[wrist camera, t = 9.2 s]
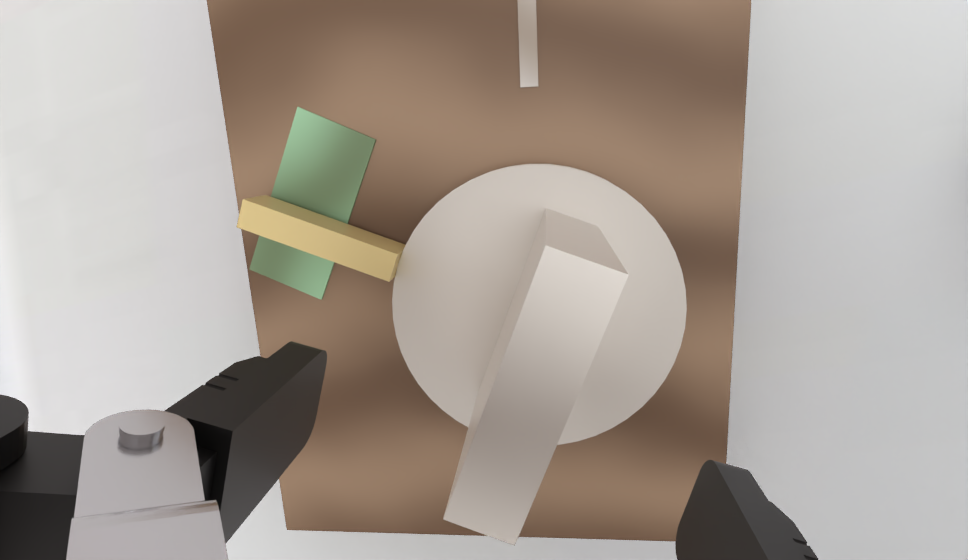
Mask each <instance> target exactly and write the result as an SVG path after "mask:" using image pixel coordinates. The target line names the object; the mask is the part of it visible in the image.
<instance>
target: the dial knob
mask: <svg viewBox="0 0 968 560" xmlns="http://www.w3.org/2000/svg"><path fill="white" fill-rule="evenodd" d="M237 228H240V229H243V230H246V231H249V232H251V233H254V234H257V235H260V236H263V237H265V238H268V239H271V240H274V241H277V242H279V243H282V244H285V245H288V246H290V247H293V248H296V249H299V250H302V251H304V252H307V253H310V254H313V255H316V256H318V257H321V258H324V259H327V260H330V261H332V262H335V263H338V264H341V265H343V266H346V267H349V268H352V269H355V270H357V271H360V272H363V273H366V274H369V275H371V276H374V277H377V278H380V279H383V280H385V281H388V282H390V281H391V280H392V279H393V278H394V277H395V279H394V286H393V296H392V309H393V322H394V327H395V333H396V337H397V341H398V344H399V347H400V350H401V353H402V355H403V357H404V360H405V362H406V364H407V366H408V368H409V370H410V372H411V373H412V375H413V376H414V378H415V380H416V381H417V383H418V384H419V386H420V387H421V388H422V389H423V390H424V392H425V393H426V394H427V395H428V397H429V398H430V399H431V400H432V401H433V402H434V403H435V404H437V405H438V406H439V407H440V408H441V409H442V410H443V411H444V412H446V413H447V414H448V415H450V416H451V417H452V418H454V419H455V420H456V421H458V422H460V423H461V424H463V425H465V426H467V427H468V431H467V434H466V438H465V442H464V445H463V449H462V452H461V456H460V460H459V463H458V467H457V471H456V474H455V478H454V481H453V485H452V489H451V492H450V496H449V500H448V503H447V507H446V510H445V514H444V518H443V520H446V521H449V522H452V523H454V524H457V525H460V526H462V527H465V528H468V529H471V530H473V531H476V532H479V533H481V534H484V535H487V536H490V537H492V538H495V539H498V540H500V541H503V542H506V543H509V544H511V545H514V546H515V544H516V541H517V539H518V537H519V534H520V532H521V529H522V527H523V525H524V522H525V520H526V518H527V515H528V513H529V510H530V508H531V506H532V503H533V501H534V499H535V496H536V494H537V491H538V489H539V487H540V484H541V482H542V480H543V477H544V475H545V472H546V470H547V468H548V465H549V463H550V461H551V458H552V456H553V453H554V451H555V449H556V446H557V445H561V444H566V443H572V442H577V441H581V440H584V439H587V438H590V437H593V436H596V435H598V434H601V433H603V432H605V431H607V430H609V429H612V428H613V427H615V426H617V425H618V424H620V423H621V422H623V421H625V420H626V419H628V418H629V417H630V416H632V415H633V414H634V413H635V412H637V411H638V410H639V409H640V408H642V407H643V405H644V404H645V403H646V402H647V401H648V400H649V399H650V398H651V397H652V396H653V395H654V394H655V393H656V391H657V390H658V389H659V387H660V386H661V385H662V383H663V382H664V381H665V379H666V377H667V375H668V374H669V372H670V370H671V368H672V366H673V365H674V362H675V360H676V357H677V355H678V352H679V349H680V347H681V343H682V339H683V334H684V330H685V323H686V312H687V304H686V289H685V283H684V278H683V273H682V269H681V267H680V264H679V261H678V258H677V255H676V252H675V250H674V248H673V247H672V245H671V243H670V241H669V239H668V237H667V235H666V234H665V232H664V231H663V229H662V228H661V227H660V225H659V224H658V222H657V221H656V219H655V218H654V217H653V216H652V215H651V214H650V213H649V212H648V211H647V210H646V209H645V208H644V207H643V206H642V204H640V203H639V202H638V201H637V200H635V199H634V198H633V197H632V196H630V195H629V194H628V193H627V192H625V191H624V190H622V189H620V188H619V187H617V186H615V185H614V184H612V183H610V182H609V181H607V180H605V179H603V178H601V177H599V176H596V175H594V174H592V173H589V172H587V171H583V170H580V169H576V168H573V167H569V166H563V165H556V164H532V163H529V164H521V165H514V166H508V167H504V168H501V169H497V170H493V171H490V172H488V173H485V174H483V175H481V176H478V177H476V178H474V179H471V180H469V181H468V182H466V183H464V184H463V185H461V186H459V187H458V188H456V189H454V190H453V191H451V192H450V193H449V194H447V195H446V196H445V197H444V198H442V199H441V200H440V201H439V202H437V203H436V204H435V206H434V207H433V208H432V209H431V210H430V211H429V212H428V213H427V214H426V215H425V216H424V217H423V219H422V220H421V221H420V223H419V224H418V225H417V227H416V228H415V229H414V231H413V233H412V234H411V236H410V238H409V240H408V242H407V244H406V245H405V244H402V243H399V242H397V241H394V240H391V239H388V238H385V237H383V236H380V235H377V234H374V233H371V232H369V231H366V230H363V229H360V228H357V227H355V226H352V225H349V224H346V223H343V222H341V221H338V220H335V219H332V218H329V217H326V216H324V215H321V214H318V213H315V212H312V211H310V210H307V209H304V208H301V207H298V206H296V205H293V204H290V203H287V202H284V201H282V200H279V199H276V198H273V197H270V196H268V195H263V196H257V197H252V198H246V199H243V200H242V205H241V210H240V214H239V219H238V223H237Z"/></svg>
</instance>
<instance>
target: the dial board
mask: <svg viewBox="0 0 968 560" xmlns="http://www.w3.org/2000/svg"><path fill="white" fill-rule="evenodd" d="M207 5H208V11H209V18H210V25H211V31H212V38H213V44H214V51H215V58H216V64H217V71H218V78H219V84H220V91H221V97H222V104H223V111H224V117H225V124H226V130H227V137H228V144H229V150H230V157H231V163H232V170H233V177H234V183H235V190H236V196H237V203H238V210H239V214H240V210H241V205H242V200H243V199H246V198H252V197H257V196H263V195H268V196H270V197H273V198H276V199H279V200H282V201H284V202H287V203H290V204H293V205H296V206H298V207H301V208H304V209H307V210H310V211H312V212H315V213H318V214H321V215H324V216H326V217H329V218H332V219H335V220H338V221H341V222H343V223H346V224H349V225H352V226H355V227H357V228H360V229H363V230H366V231H369V232H371V233H374V234H377V235H380V236H383V237H385V238H388V239H391V240H394V241H397V242H399V243H402V244H405V245H406V244H407V242H408V240H409V238H410V236H411V234H412V233H413V231H414V229H415V228H416V227H417V225H418V224H419V223H420V221H421V220H422V219H423V217H424V216H425V215H426V214H427V213H428V212H429V211H430V210H431V209H432V208H433V207H434V206H435V204H436V203H437V202H439V201H440V200H441V199H442V198H444V197H445V196H446V195H447V194H449V193H450V192H451V191H453V190H454V189H456V188H458V187H459V186H461V185H463V184H464V183H466V182H468V181H469V180H471V179H474V178H476V177H478V176H481V175H483V174H485V173H488V172H490V171H493V170H497V169H501V168H504V167H508V166H514V165H521V164H529V163H532V164H556V165H563V166H569V167H573V168H576V169H580V170H583V171H587V172H589V173H592V174H594V175H596V176H599V177H601V178H603V179H605V180H607V181H609V182H610V183H612V184H614V185H615V186H617V187H619V188H620V189H622V190H624V191H625V192H627V193H628V194H629V195H630V196H632V197H633V198H634V199H635V200H637V201H638V202H639V203H640V204H642V206H643V207H644V208H645V209H646V210H647V211H648V212H649V213H650V214H651V215H652V216H653V217H654V218H655V219H656V221H657V222H658V224H659V225H660V227H661V228H662V229H663V231H664V232H665V234H666V235H667V237H668V239H669V241H670V243H671V245H672V247H673V248H674V250H675V252H676V255H677V258H678V261H679V264H680V267H681V269H682V273H683V278H684V283H685V289H686V304H687V312H686V323H685V330H684V334H683V339H682V343H681V347H680V349H679V352H678V355H677V357H676V360H675V362H674V365H673V366H672V368H671V370H670V372H669V374H668V375H667V377H666V379H665V381H664V382H663V383H662V385H661V386H660V387H659V389H658V390H657V391H656V393H655V394H654V395H653V396H652V397H651V398H650V399H649V400H648V401H647V402H646V403H645V404H644V405H643V407H642V408H640V409H639V410H638V411H637V412H635V413H634V414H633V415H632V416H630V417H629V418H628V419H626V420H625V421H623V422H621V423H620V424H618V425H617V426H615V427H613V428H612V429H609V430H607V431H605V432H603V433H601V434H598V435H596V436H593V437H590V438H587V439H584V440H581V441H577V442H572V443H566V444H561V445H557V446H556V449H555V451H554V453H553V456H552V458H551V461H550V463H549V465H548V468H547V470H546V472H545V475H544V477H543V480H542V482H541V484H540V487H539V489H538V491H537V494H536V496H535V499H534V501H533V503H532V506H531V508H530V510H529V513H528V515H527V518H526V520H525V522H524V525H523V527H522V529H521V532H520V534H519V537H547V538H581V539H615V540H649V541H676V534H677V529H678V525H679V523H680V520H681V517H682V515H683V512H684V510H685V507H686V505H687V502H688V500H689V497H690V494H691V492H692V489H693V487H694V484H695V482H696V479H697V477H698V474H699V472H700V469H701V467H702V466H703V464H704V463H705V462H706V461H707V460H714V461H717V462H721V463H724V464H726V455H727V437H728V418H729V400H730V382H731V363H732V345H733V326H734V308H735V290H736V271H737V253H738V234H739V216H740V198H741V179H742V161H743V142H744V124H745V105H746V87H747V69H748V50H749V32H750V13H751V0H207ZM241 230H242V236H243V243H244V249H245V256H246V263H247V269H248V276H249V282H250V289H251V296H252V302H253V309H254V315H255V322H256V329H257V335H258V342H259V349H260V355H261V357H263V358H268V357H270V356H271V355H272V354H274V353H275V352H276V351H278V350H279V349H280V348H282V347H283V346H284V345H286V344H287V343H288V342H290V341H293V342H296V343H300V344H303V345H307V346H311V347H314V348H318V349H321V350H325V351H326V352H327V364H326V369H325V375H324V380H323V385H322V390H321V395H320V400H319V405H318V410H317V416H316V420H315V424H314V427H313V430H312V433H311V435H310V437H309V439H308V441H307V443H306V445H305V446H304V448H303V449H302V450H301V452H300V453H299V454H298V455H297V457H296V458H295V459H294V460H293V462H292V463H291V464H290V465H289V466H288V468H287V469H286V470H285V471H284V473H283V474H282V475H281V476H280V478H279V481H280V487H281V494H282V501H283V507H284V514H285V520H286V527H287V530H309V531H343V532H377V533H411V534H445V535H479V536H487V535H484V534H481V533H479V532H476V531H473V530H471V529H468V528H465V527H462V526H460V525H457V524H454V523H452V522H449V521H446V520H443V518H444V514H445V510H446V507H447V503H448V500H449V496H450V492H451V489H452V485H453V481H454V478H455V474H456V471H457V467H458V463H459V460H460V456H461V452H462V449H463V445H464V442H465V438H466V434H467V431H468V427H467V426H465V425H463V424H461V423H460V422H458V421H456V420H455V419H454V418H452V417H451V416H450V415H448V414H447V413H446V412H444V411H443V410H442V409H441V408H440V407H439V406H438V405H437V404H435V403H434V402H433V401H432V400H431V399H430V398H429V397H428V395H427V394H426V393H425V392H424V390H423V389H422V388H421V387H420V386H419V384H418V383H417V381H416V380H415V378H414V376H413V375H412V373H411V372H410V370H409V368H408V366H407V364H406V362H405V360H404V357H403V355H402V353H401V350H400V347H399V344H398V341H397V337H396V333H395V327H394V322H393V309H392V296H393V286H394V279H395V277H394V278H393V279H392V280H391V281H390V282H388V281H385V280H383V279H380V278H377V277H374V276H371V275H369V274H366V273H363V272H360V271H357V270H355V269H352V268H349V267H346V266H343V265H341V264H338V263H335V262H332V261H330V260H327V259H324V258H321V257H318V256H316V255H313V254H310V253H307V252H304V251H302V250H299V249H296V248H293V247H290V246H288V245H285V244H282V243H279V242H277V241H274V240H271V239H268V238H265V237H263V236H260V235H257V234H254V233H251V232H249V231H246V230H243V229H241Z"/></svg>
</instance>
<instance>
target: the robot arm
mask: <svg viewBox="0 0 968 560" xmlns="http://www.w3.org/2000/svg"><path fill="white" fill-rule="evenodd" d="M326 364H327V352H326V351H325V350H321V349H318V348H314V347H311V346H307V345H303V344H300V343H296V342H293V341H290V342H288V343H287V344H286V345H284V346H283V347H282V348H280V349H279V350H278V351H276V352H275V353H274V354H272V355H271V356H270V357H268V358H263V357H260V356H257V357H254V358H250V359H247V360H243V361H239V362H236V363H234V364H233V365H231V366H230V367H228V368H227V369H225V370H224V371H222V372H221V373H219V376H215V377H214V378H212V379H211V380H209V381H208V382H206V384H205V386H204V385H202V386H200V387H199V388H197V389H196V390H194V391H193V392H192V393H190V394H189V395H187V396H186V397H184V398H183V399H181V400H180V401H178V402H177V403H175V404H174V405H172V406H171V407H170V408H168V409H167V410H165V411H159V410H133V411H126V412H121V413H117V414H114V415H111V416H108V417H106V418H103V419H101V420H99V421H98V422H96V423H95V424H93V425H92V426H91V427H90V428H89V429H88V430H87V432H86V433H85V435H69V434H56V433H43V432H30V431H28V414H29V412H28V408H27V407H26V405H25V404H24V403H22V402H21V401H19V400H17V399H15V398H12V397H9V396H4V395H0V560H228V555H227V550H226V543H227V541H228V540H229V539H230V538H231V537H232V535H233V534H234V533H235V532H236V530H237V529H238V528H239V527H240V525H241V524H242V523H243V522H244V521H245V519H246V518H247V517H248V516H249V514H250V513H251V512H252V511H253V509H254V508H255V507H256V506H257V505H258V503H259V502H260V501H261V500H262V498H263V497H264V496H265V495H266V493H267V492H268V491H269V490H270V489H271V487H272V486H273V485H274V484H275V482H276V481H277V480H278V479H279V478H280V476H281V475H282V474H283V473H284V471H285V470H286V469H287V468H288V466H289V465H290V464H291V463H292V462H293V460H294V459H295V458H296V457H297V455H298V454H299V453H300V452H301V450H302V449H303V448H304V446H305V445H306V443H307V441H308V439H309V437H310V435H311V433H312V430H313V427H314V424H315V420H316V416H317V410H318V405H319V400H320V395H321V390H322V385H323V380H324V375H325V369H326ZM676 555H677V559H678V560H818V558H817V556H816V555H815V553H814V552H813V550H812V549H811V548H810V546H807V542H806V540H805V539H804V537H803V536H802V534H801V533H800V531H799V530H798V528H797V527H796V525H795V524H794V522H793V521H792V520H791V519H789V518H788V517H787V516H786V515H785V514H784V513H783V512H782V511H781V510H780V509H778V508H777V507H776V506H775V505H774V504H773V503H772V502H769V501H768V499H767V498H766V496H765V495H764V493H763V492H762V490H761V488H760V487H759V485H758V484H757V482H756V481H755V479H754V478H753V476H752V474H751V473H750V472H749V471H748V470H746V469H742V468H739V467H735V466H731V465H728V464H724V463H721V462H717V461H714V460H707V461H706V462H705V463H704V464H703V466H702V467H701V469H700V472H699V474H698V477H697V479H696V482H695V484H694V487H693V489H692V492H691V494H690V497H689V500H688V502H687V505H686V507H685V510H684V512H683V515H682V517H681V520H680V523H679V525H678V529H677V534H676Z"/></svg>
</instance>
